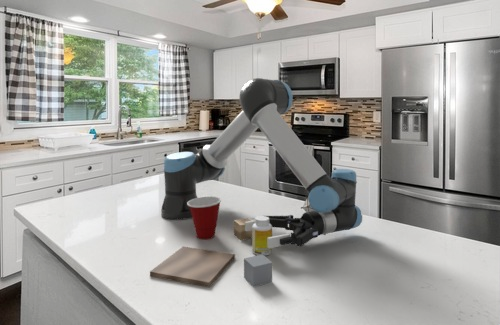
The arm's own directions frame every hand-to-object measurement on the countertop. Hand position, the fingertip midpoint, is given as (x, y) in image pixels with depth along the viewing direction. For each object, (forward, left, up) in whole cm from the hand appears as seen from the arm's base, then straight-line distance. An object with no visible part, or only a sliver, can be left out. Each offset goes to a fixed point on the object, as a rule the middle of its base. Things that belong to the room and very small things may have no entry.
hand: (255, 234), depth 95 cm
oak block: (-8, +12, -6) cm, 15 cm away
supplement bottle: (+1, +2, -6) cm, 6 cm away
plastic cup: (-20, +8, -6) cm, 22 cm away
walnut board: (-13, -12, -6) cm, 19 cm away
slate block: (+5, -13, -6) cm, 15 cm away
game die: (+10, +39, -6) cm, 40 cm away
